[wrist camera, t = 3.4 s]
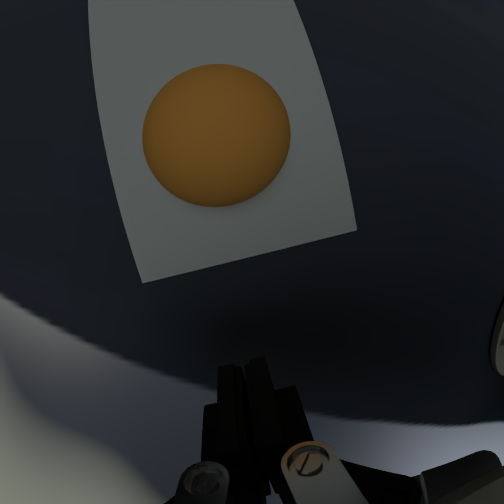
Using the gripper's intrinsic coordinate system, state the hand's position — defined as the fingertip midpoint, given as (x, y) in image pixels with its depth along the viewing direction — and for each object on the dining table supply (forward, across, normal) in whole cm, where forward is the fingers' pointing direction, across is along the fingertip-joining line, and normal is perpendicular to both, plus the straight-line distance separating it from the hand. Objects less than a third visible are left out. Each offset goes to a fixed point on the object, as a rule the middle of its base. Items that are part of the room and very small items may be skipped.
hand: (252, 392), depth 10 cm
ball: (+4, -1, -9) cm, 10 cm away
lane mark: (+7, -1, -19) cm, 20 cm away
